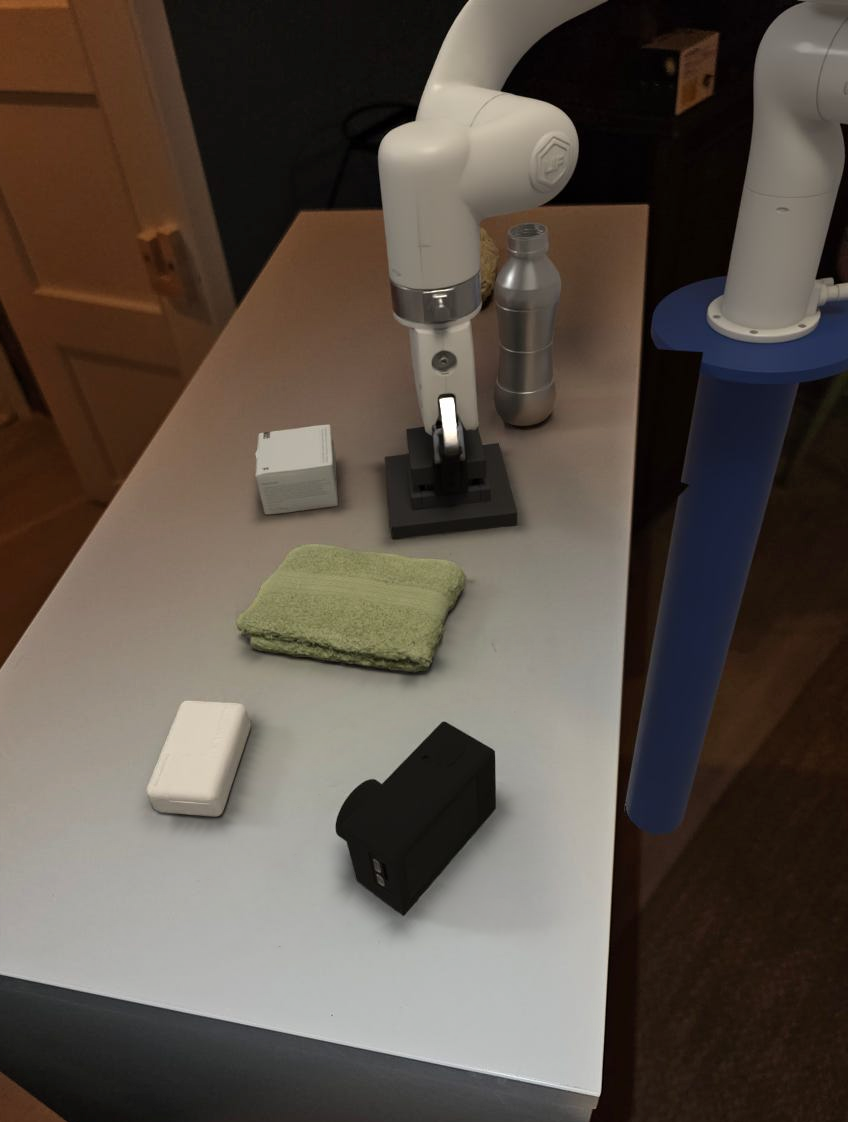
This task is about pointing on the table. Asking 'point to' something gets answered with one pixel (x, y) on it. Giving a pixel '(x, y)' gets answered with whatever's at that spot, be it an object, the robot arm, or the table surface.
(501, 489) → the base pad
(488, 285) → the sponge
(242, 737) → the soap
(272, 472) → the small box
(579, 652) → the table surface
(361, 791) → the digital camera
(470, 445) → the top pad
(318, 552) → the washcloth
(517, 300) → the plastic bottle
